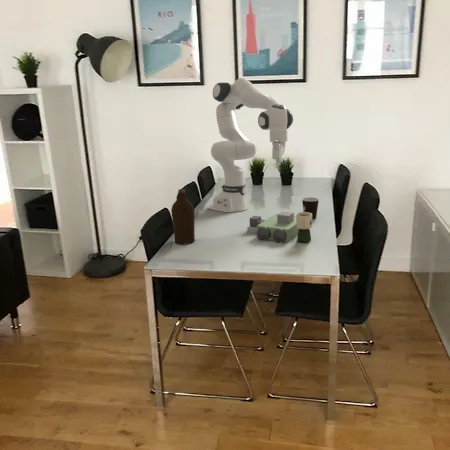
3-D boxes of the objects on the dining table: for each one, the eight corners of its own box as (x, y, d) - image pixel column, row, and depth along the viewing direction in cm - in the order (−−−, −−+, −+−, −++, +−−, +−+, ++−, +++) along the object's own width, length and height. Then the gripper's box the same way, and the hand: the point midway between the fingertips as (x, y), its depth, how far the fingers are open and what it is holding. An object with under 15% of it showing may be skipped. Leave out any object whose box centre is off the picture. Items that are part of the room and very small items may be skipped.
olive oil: (200, 241, 241) (198, 189, 234) (183, 246, 234) (179, 193, 227) (186, 236, 249) (183, 186, 241) (168, 241, 242) (165, 190, 234)
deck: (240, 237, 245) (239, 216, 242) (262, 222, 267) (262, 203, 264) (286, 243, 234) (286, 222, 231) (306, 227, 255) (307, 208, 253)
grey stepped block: (249, 231, 254) (249, 218, 252) (254, 228, 258) (253, 215, 256) (264, 232, 250) (264, 220, 248) (268, 229, 255) (268, 217, 253)
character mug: (313, 244, 231) (314, 217, 227) (297, 245, 231) (297, 217, 227) (310, 237, 241) (310, 210, 237) (294, 237, 241) (294, 211, 237)
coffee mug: (318, 220, 267) (318, 201, 264) (301, 219, 269) (301, 201, 266) (318, 214, 278) (319, 196, 275) (302, 213, 280) (302, 195, 277)
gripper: (282, 140, 247) (282, 169, 251) (287, 135, 266) (287, 161, 270) (269, 140, 248) (269, 169, 252) (275, 135, 267) (275, 161, 271)
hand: (278, 165), depth 261 cm, fingers closed
